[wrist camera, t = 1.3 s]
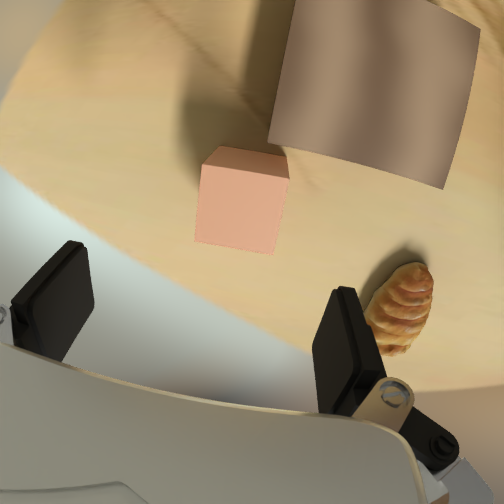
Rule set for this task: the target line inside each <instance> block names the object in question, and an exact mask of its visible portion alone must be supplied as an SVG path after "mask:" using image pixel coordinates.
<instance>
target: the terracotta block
mask: <svg viewBox="0 0 504 504" xmlns="http://www.w3.org/2000/svg"><path fill="white" fill-rule="evenodd" d="M289 179H290V178H289V171H288V164H287V157H284V156H279V155H274V154H268V153H263V152H257V151H251V150H245V149H238V148H232V147H225V146H219V147H218V148H217V149H216V150H215V151H214V152H213V153H212V154H211V155H210V156H209V157H208V158H207V159H206V161H205V162H204V163H203V164H202V169H201V178H200V187H199V197H198V207H197V218H196V229H195V240H194V241H195V242H200V243H206V244H212V245H218V246H223V247H229V248H235V249H240V250H246V251H252V252H258V253H263V254H269V255H273V254H274V249H275V245H276V240H277V235H278V231H279V226H280V222H281V217H282V212H283V208H284V203H285V198H286V194H287V189H288V184H289Z"/></svg>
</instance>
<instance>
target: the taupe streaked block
mask: <svg viewBox="0 0 504 504" xmlns="http://www.w3.org/2000/svg"><path fill="white" fill-rule="evenodd" d="M480 30H481V29H479V28H478V27H476V26H474V25H473V24H471V23H469V22H467V21H466V20H464V19H462V18H460V17H458V16H457V15H455V14H453V13H451V12H449V11H447V10H445V9H443V8H441V7H439V6H437V5H435V4H433V3H431V2H429V1H427V0H295V4H294V9H293V14H292V19H291V24H290V29H289V34H288V39H287V44H286V48H285V53H284V58H283V63H282V68H281V73H280V78H279V83H278V88H277V93H276V98H275V103H274V108H273V113H272V118H271V123H270V128H269V134H268V140H267V143H271V144H276V145H281V146H286V147H291V148H296V149H300V150H305V151H309V152H313V153H318V154H322V155H326V156H330V157H334V158H338V159H342V160H346V161H350V162H354V163H357V164H361V165H365V166H368V167H372V168H376V169H379V170H382V171H386V172H389V173H393V174H396V175H399V176H402V177H406V178H409V179H412V180H415V181H418V182H421V183H424V184H427V185H430V186H433V187H436V188H439V189H442V190H443V188H444V185H445V182H446V179H447V176H448V173H449V170H450V167H451V163H452V160H453V157H454V154H455V150H456V147H457V143H458V140H459V136H460V132H461V129H462V125H463V121H464V117H465V113H466V109H467V104H468V100H469V95H470V91H471V86H472V81H473V76H474V70H475V64H476V58H477V52H478V45H479V38H480Z"/></svg>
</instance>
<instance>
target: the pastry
mask: <svg viewBox="0 0 504 504" xmlns="http://www.w3.org/2000/svg"><path fill="white" fill-rule="evenodd" d="M433 283H434V281H433V278H432V276H431V274H430V273H429V271H428V268H427V266H426V265H425V264H422V263H418V262H413V263H408V264H405V265H402V266H400V267H398V268H397V269H396V270H395V271H394V272H393V274H392V276H391V277H390V278H389V279H388V280H387V281H386V282H385V283H384V284H383V285H382V286H381V287H379V288H378V289H377V290H376V291H375V292H374V293H373V297H372V299H371V300H370V302H369V304H368V306H367V308H366V309H365V311H364V313H363V314H364V317H365V320H366V323H367V324H368V325H370V326H371V328H372V330H373V333H374V337H375V340H376V343H377V346H378V349H379V352H380V355H382V356H390V357H393V356H396V355H397V354H403V353H405V352H406V350H408V349H409V348H410V346H411V343H412V342H413V341H414V340H415V339H416V338H417V336H418V335H419V334H420V332H421V330H422V328H423V327H424V325H425V323H426V320H427V318H428V315H429V311H430V309H431V302H432V291H433Z"/></svg>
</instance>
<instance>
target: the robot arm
mask: <svg viewBox="0 0 504 504" xmlns="http://www.w3.org/2000/svg"><path fill="white" fill-rule="evenodd" d="M11 304H12V306H11V307H10V308H8V307H7V306H6V305H4V304H0V504H493V503H494V496H493V492H492V490H491V489H490V487H489V486H488V485H487V484H486V483H485V481H484V480H483V479H482V478H481V476H480V475H479V474H478V473H477V472H476V470H475V469H474V468H473V467H472V466H471V464H470V463H469V462H468V461H467V460H466V458H463V459H461V458H460V457H459V456H458V455H459V445H458V442H457V440H456V439H455V437H454V436H453V435H452V434H451V433H450V432H448V431H447V430H446V429H444V428H443V427H441V426H440V425H438V424H437V423H436V422H434V421H433V420H431V419H430V418H429V417H427V416H426V415H424V414H423V413H421V412H420V411H419V410H417V409H416V408H415V407H413V404H414V393H413V391H412V389H411V388H410V387H409V385H408V384H406V383H405V382H404V381H402V380H400V379H398V378H394V377H387V375H386V371H385V368H384V365H383V362H382V358H381V355H380V352H379V349H378V346H377V343H376V340H375V337H374V333H373V330H372V328H371V326H370V325H368V324H367V323H366V320H365V317H364V314H363V311H362V308H361V305H360V302H359V299H358V296H357V293H356V290H355V288H351V287H344V286H339V287H338V289H333V291H332V293H331V296H330V298H329V301H328V304H327V306H326V309H325V312H324V314H323V317H322V320H321V322H320V325H319V328H318V330H317V333H316V335H315V338H314V340H313V344H312V354H313V362H314V371H315V380H316V389H317V399H318V410H319V413H312V412H300V411H289V410H280V409H272V408H262V407H254V406H247V405H239V404H233V403H226V402H220V401H213V400H207V399H202V398H197V397H191V396H186V395H181V394H176V393H171V392H167V391H162V390H158V389H153V388H149V387H145V386H141V385H137V384H133V383H129V382H125V381H121V380H118V379H114V378H110V377H107V376H103V375H100V374H96V373H93V372H90V371H86V370H83V369H80V368H77V367H73V366H71V365H67V364H65V363H62V360H63V358H64V357H65V355H66V353H67V352H68V350H69V348H70V347H71V345H72V343H73V341H74V340H75V338H76V337H77V335H78V333H79V332H80V330H81V328H82V327H83V325H84V323H85V322H86V321H87V319H88V317H89V316H90V314H91V313H92V311H93V309H94V296H93V290H92V283H91V277H90V268H89V260H88V252H87V248H86V247H84V245H83V243H81V242H76V241H71V240H69V241H67V242H66V243H65V244H64V245H63V246H62V247H61V248H60V249H59V250H58V251H57V252H56V253H55V254H54V255H53V256H52V257H51V258H50V259H49V260H48V261H47V262H46V263H45V264H44V265H43V266H42V267H41V268H40V269H39V270H38V272H37V273H36V274H35V275H34V276H33V277H32V278H31V279H30V280H29V281H28V282H27V283H26V284H25V285H24V287H23V288H22V289H21V290H20V291H19V292H18V293H17V294H16V295H15V297H14V298H13V299H12V300H11Z"/></svg>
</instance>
